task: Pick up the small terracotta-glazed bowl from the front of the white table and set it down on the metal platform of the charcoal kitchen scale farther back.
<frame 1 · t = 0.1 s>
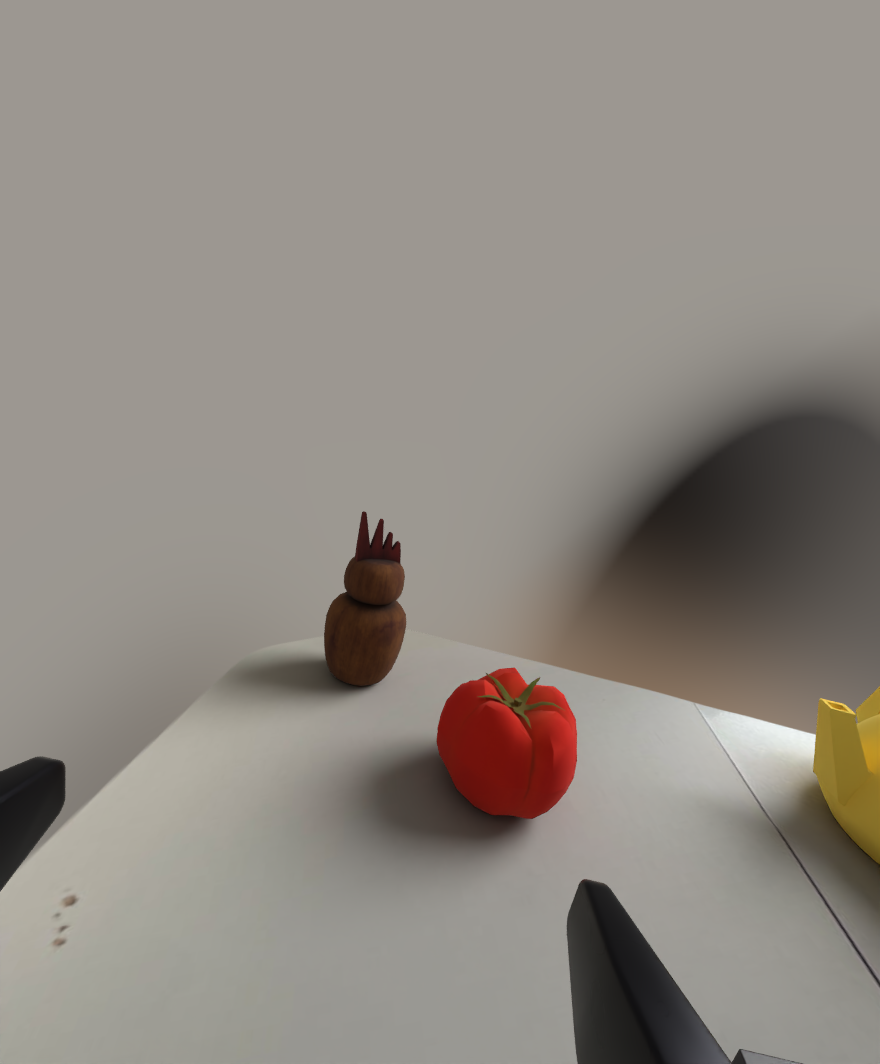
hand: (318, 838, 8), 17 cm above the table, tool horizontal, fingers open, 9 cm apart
wooden figurine: (356, 676, 42), on the table
tomato: (491, 784, 33), on the table
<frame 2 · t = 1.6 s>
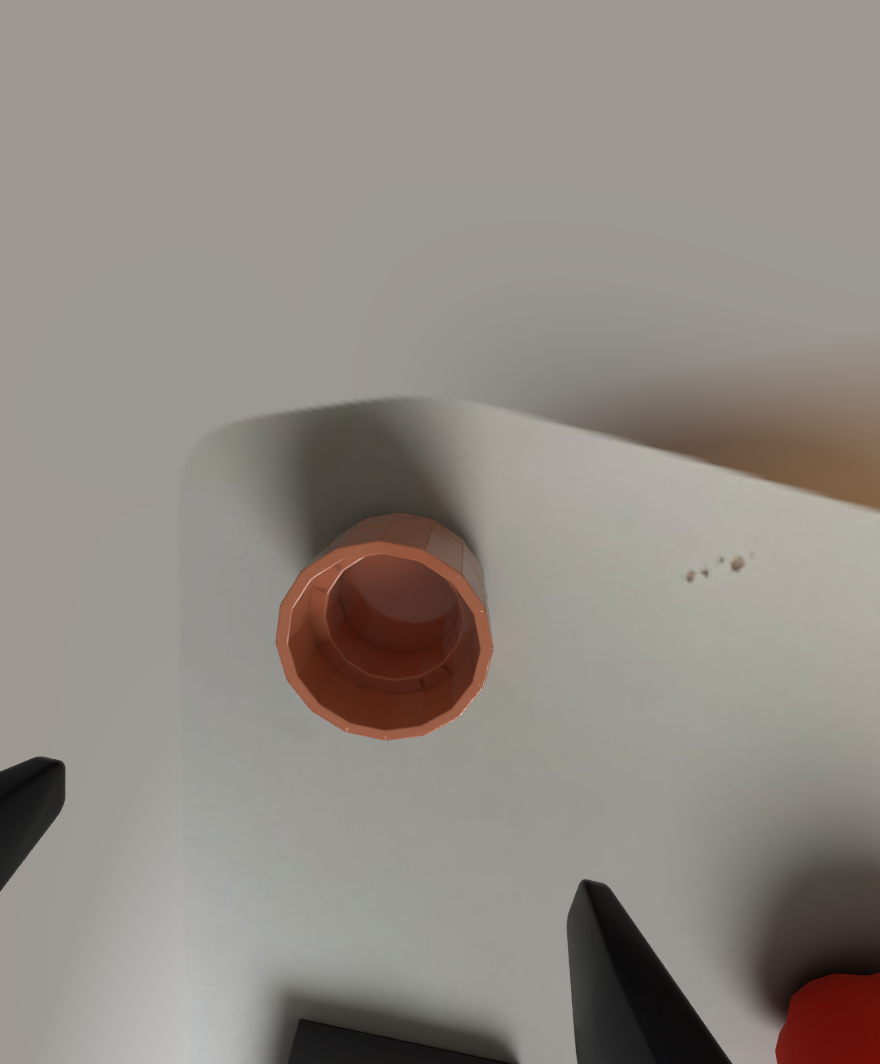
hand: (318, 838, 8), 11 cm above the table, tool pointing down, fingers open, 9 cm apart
bowl: (402, 592, 19), on the table
tomato: (847, 997, 23), on the table
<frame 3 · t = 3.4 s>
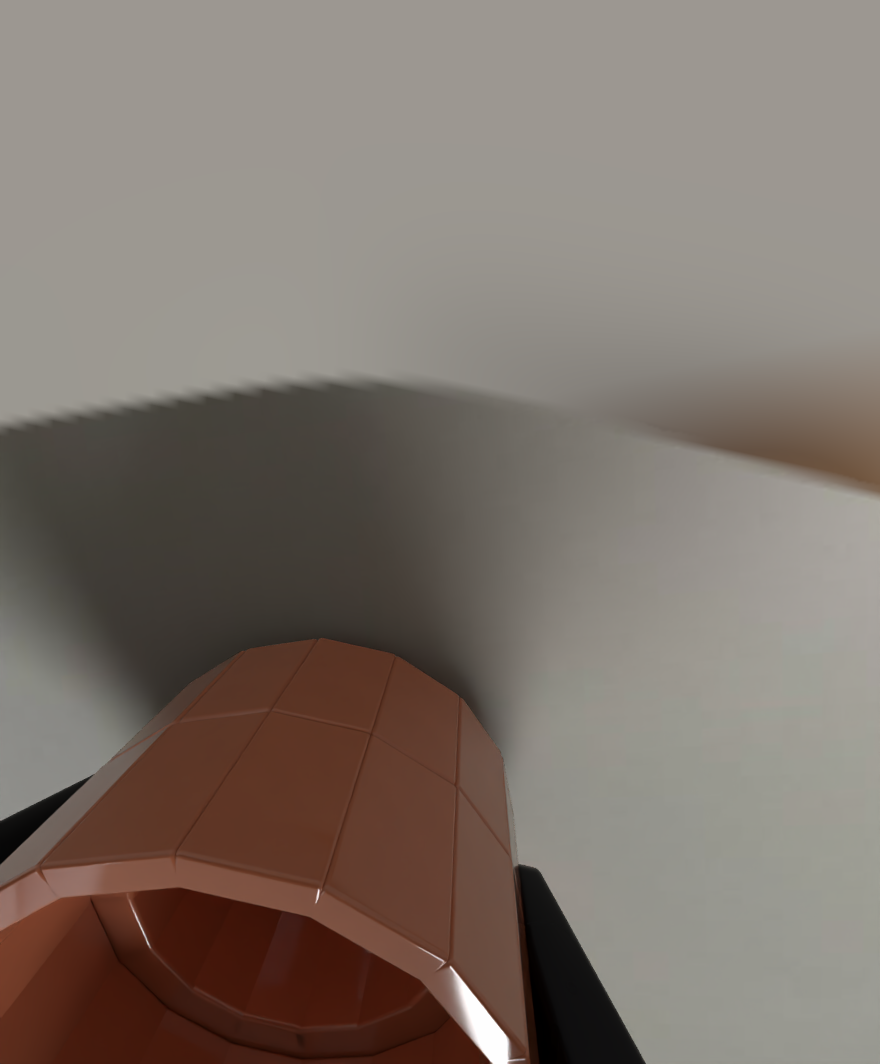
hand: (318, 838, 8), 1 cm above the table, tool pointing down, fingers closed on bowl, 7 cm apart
bowl: (337, 782, 9), on the table, touching gripper
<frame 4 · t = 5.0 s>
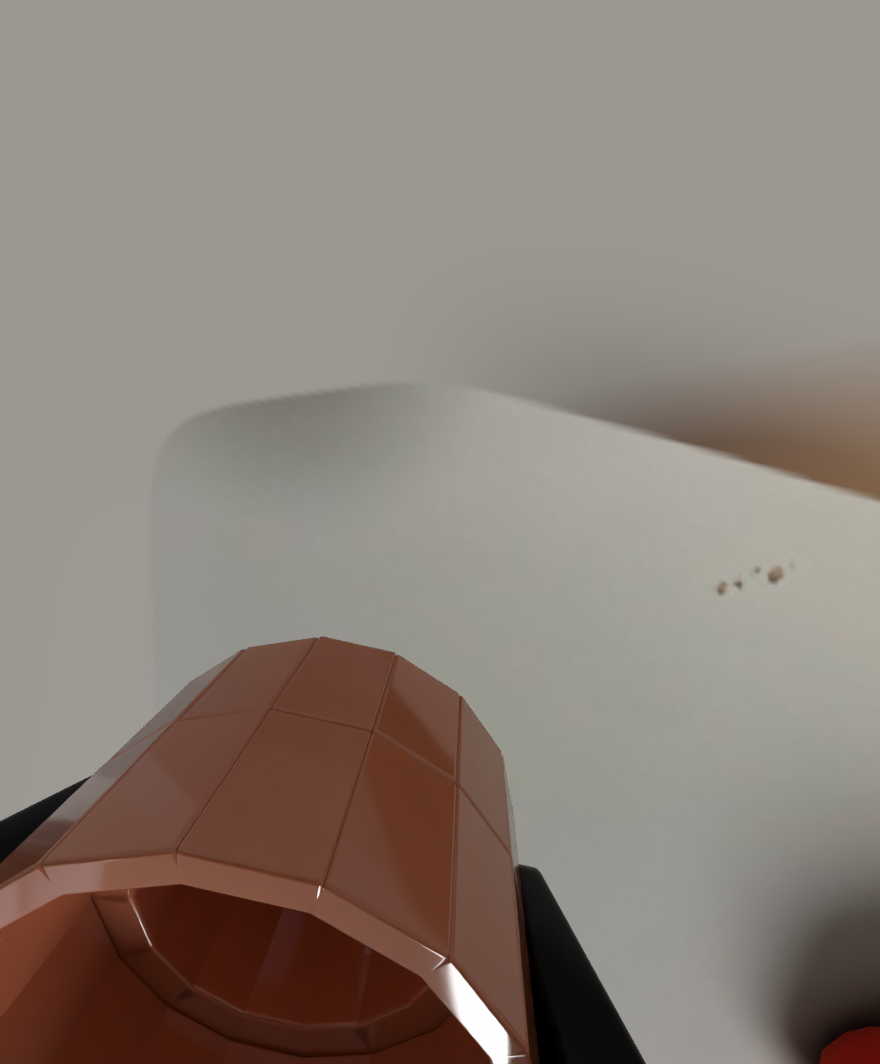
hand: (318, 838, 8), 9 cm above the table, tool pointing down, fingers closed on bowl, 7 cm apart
bowl: (337, 780, 9), point 8 cm above the table, touching gripper
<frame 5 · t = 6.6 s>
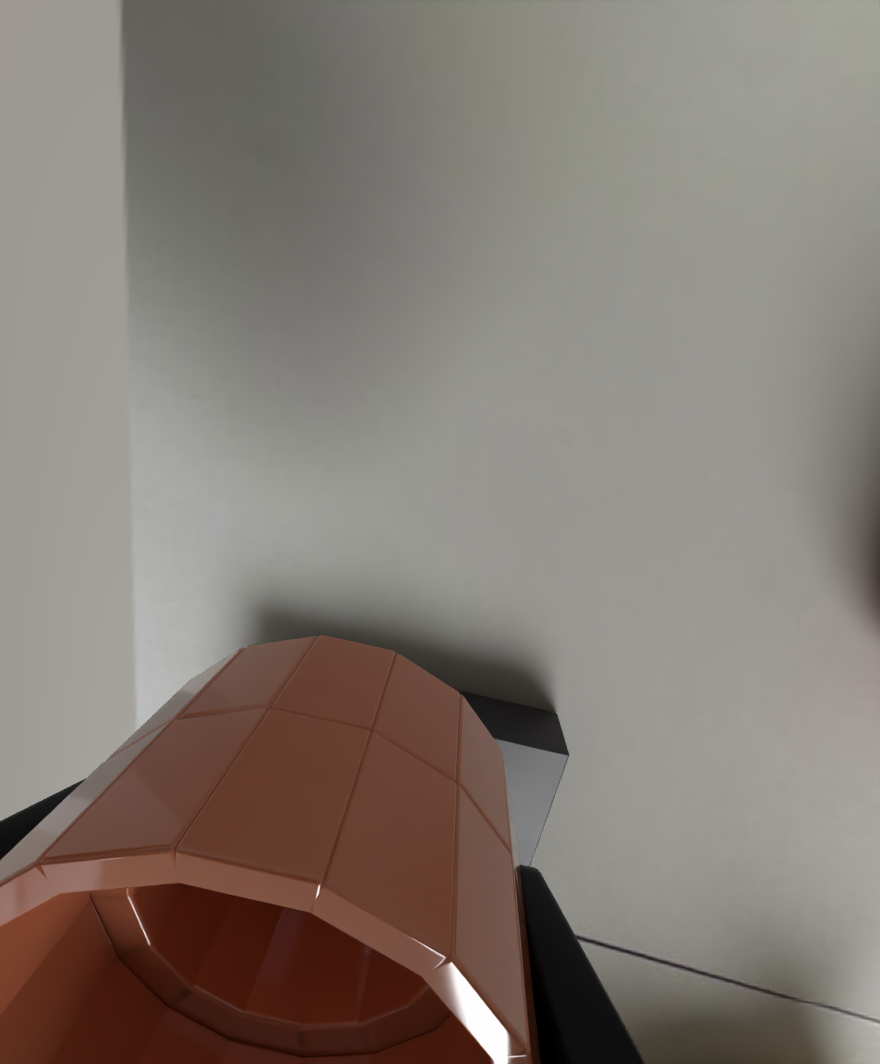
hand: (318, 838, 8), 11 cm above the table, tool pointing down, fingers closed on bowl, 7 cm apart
bowl: (337, 779, 9), point 10 cm above the table, touching gripper
scale: (391, 794, 21), on the table
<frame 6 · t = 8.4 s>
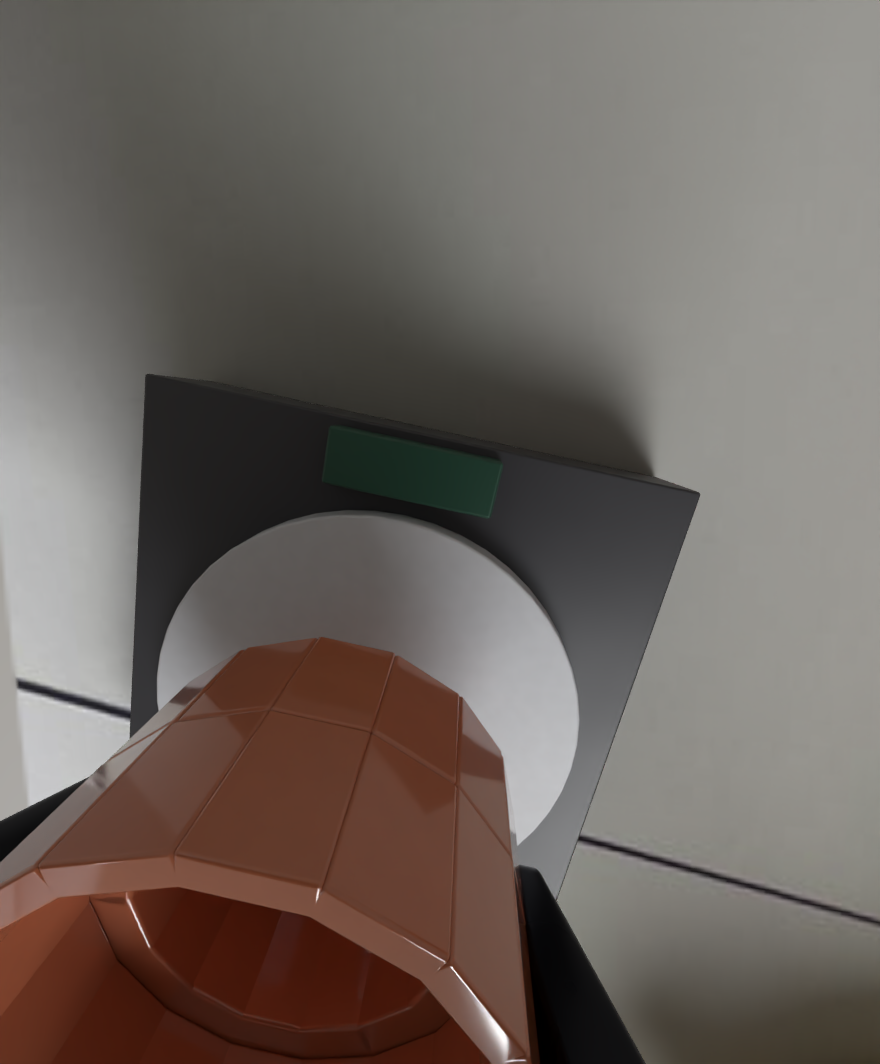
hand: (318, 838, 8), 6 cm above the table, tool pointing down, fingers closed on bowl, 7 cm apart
bowl: (337, 781, 9), point 5 cm above the table, touching gripper
scale: (390, 633, 14), on the table
when the fingers open (4 cm above the table, at t = 9.6 s): bowl stays where it is, resting on scale.
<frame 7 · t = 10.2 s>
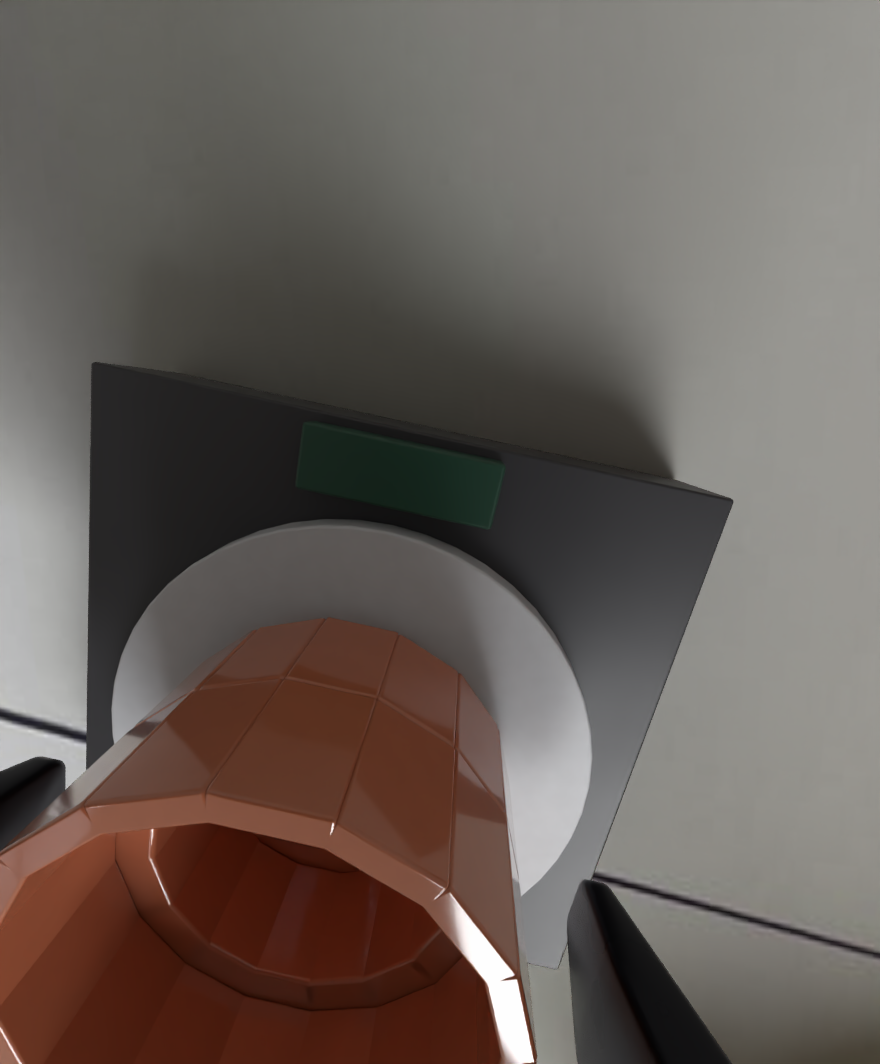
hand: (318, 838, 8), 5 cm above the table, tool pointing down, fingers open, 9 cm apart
bowl: (342, 756, 10), point 3 cm above the table, touching scale
scale: (380, 652, 13), on the table
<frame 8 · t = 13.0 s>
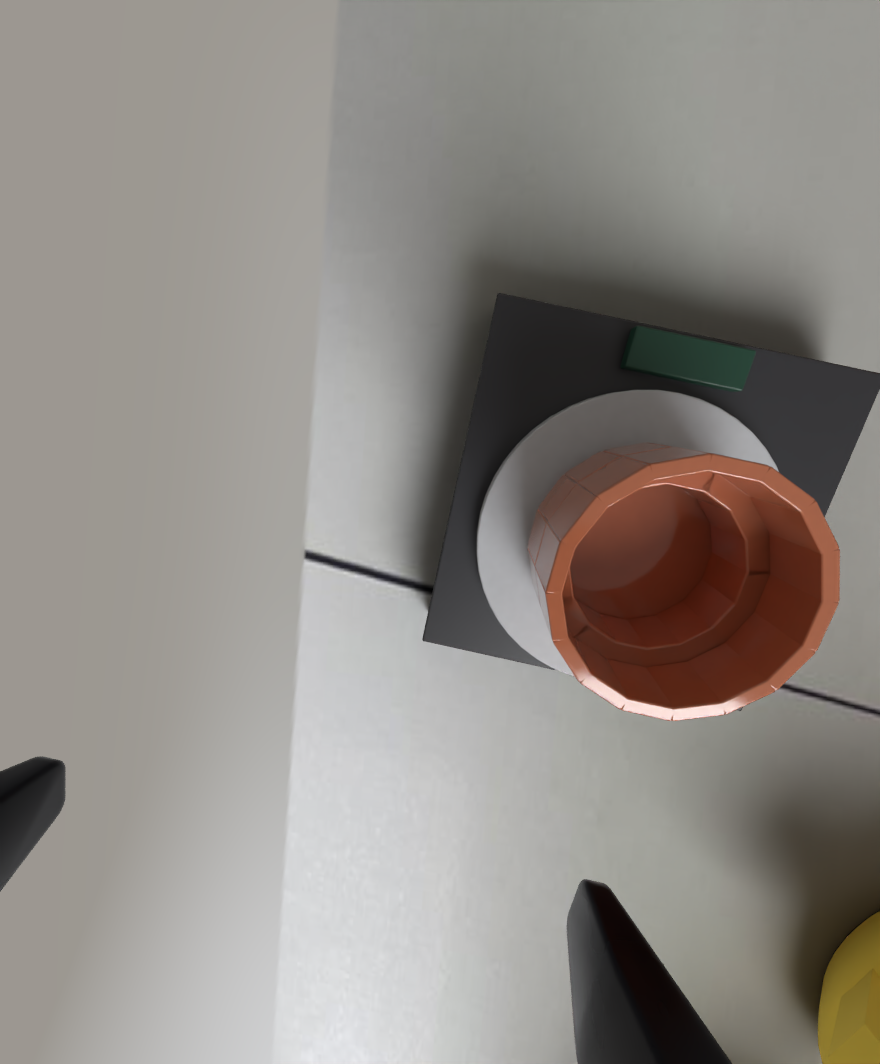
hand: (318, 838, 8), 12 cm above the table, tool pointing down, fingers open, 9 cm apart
bowl: (628, 545, 15), point 3 cm above the table, touching scale
scale: (609, 506, 18), on the table
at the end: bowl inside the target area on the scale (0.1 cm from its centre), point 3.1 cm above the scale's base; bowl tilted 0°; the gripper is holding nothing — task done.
